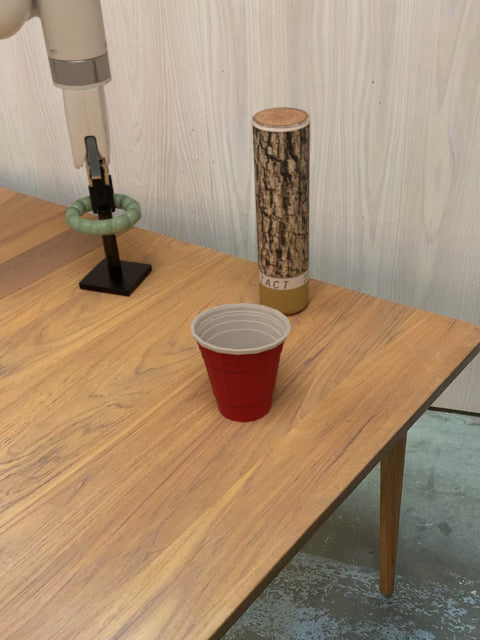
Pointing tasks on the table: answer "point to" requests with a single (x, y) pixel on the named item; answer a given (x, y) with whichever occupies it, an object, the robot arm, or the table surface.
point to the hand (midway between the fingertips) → (104, 206)
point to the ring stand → (114, 267)
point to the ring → (106, 225)
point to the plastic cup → (241, 356)
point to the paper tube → (282, 206)
